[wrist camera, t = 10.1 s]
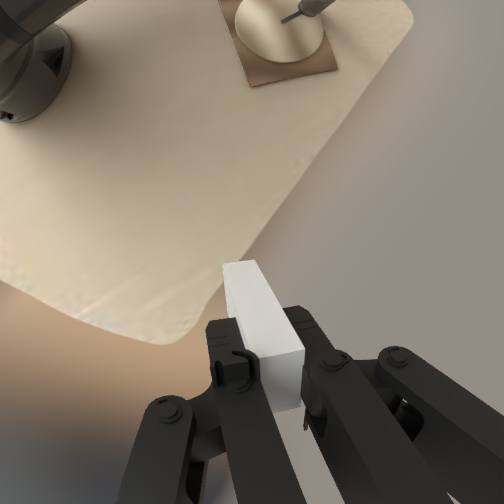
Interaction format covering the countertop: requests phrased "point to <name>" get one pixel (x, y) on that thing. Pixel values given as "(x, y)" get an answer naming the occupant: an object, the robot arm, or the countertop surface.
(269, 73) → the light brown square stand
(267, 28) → the disc with grey post
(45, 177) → the countertop surface
